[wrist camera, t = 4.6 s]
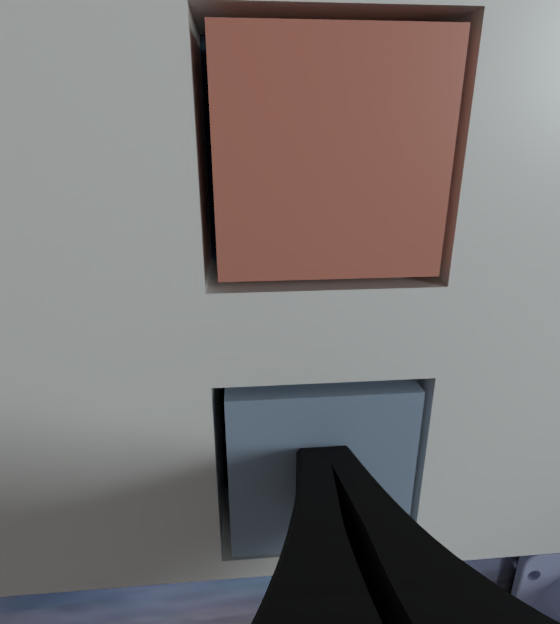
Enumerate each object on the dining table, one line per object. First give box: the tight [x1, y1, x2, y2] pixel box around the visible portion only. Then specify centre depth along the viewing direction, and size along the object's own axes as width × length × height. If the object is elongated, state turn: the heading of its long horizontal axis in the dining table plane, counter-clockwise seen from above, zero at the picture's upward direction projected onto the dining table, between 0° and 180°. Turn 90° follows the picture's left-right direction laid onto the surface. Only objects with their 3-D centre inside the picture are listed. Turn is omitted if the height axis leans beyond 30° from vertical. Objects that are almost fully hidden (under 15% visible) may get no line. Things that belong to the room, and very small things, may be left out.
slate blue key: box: [224, 379, 425, 557], centre depth 14 cm, size 5×5×3 cm
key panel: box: [0, 0, 560, 597], centre depth 12 cm, size 15×18×3 cm
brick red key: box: [205, 17, 471, 282], centre depth 11 cm, size 5×5×3 cm
